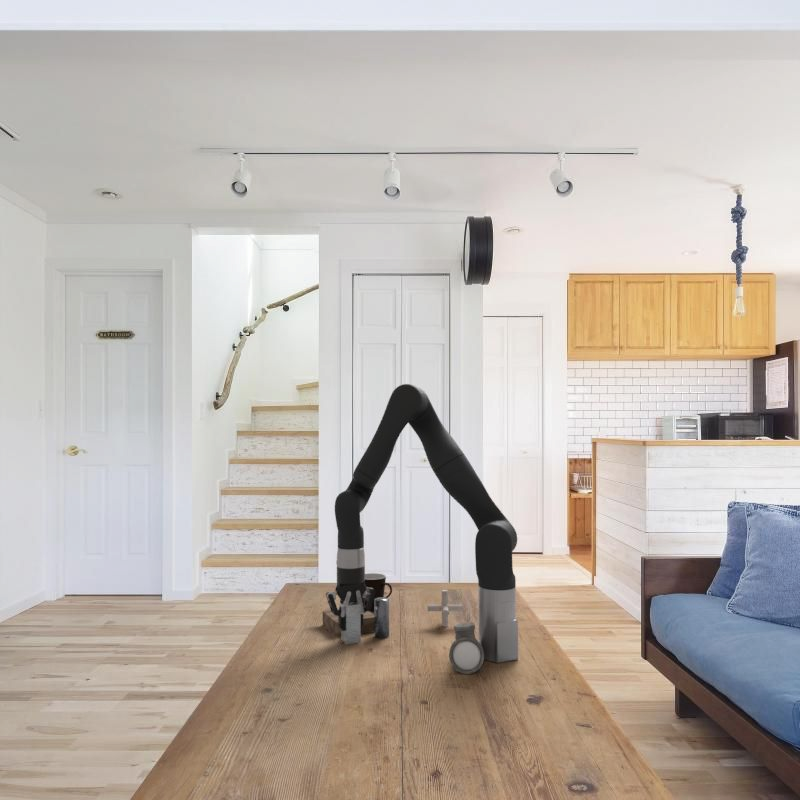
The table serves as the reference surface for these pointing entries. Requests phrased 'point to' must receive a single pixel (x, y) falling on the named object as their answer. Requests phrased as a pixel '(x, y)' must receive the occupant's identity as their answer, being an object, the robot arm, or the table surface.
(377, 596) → the coffee mug
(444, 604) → the pipe connector
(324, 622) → the socket block
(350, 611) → the square bit
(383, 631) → the round bit
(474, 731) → the table surface
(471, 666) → the pipe fitting
